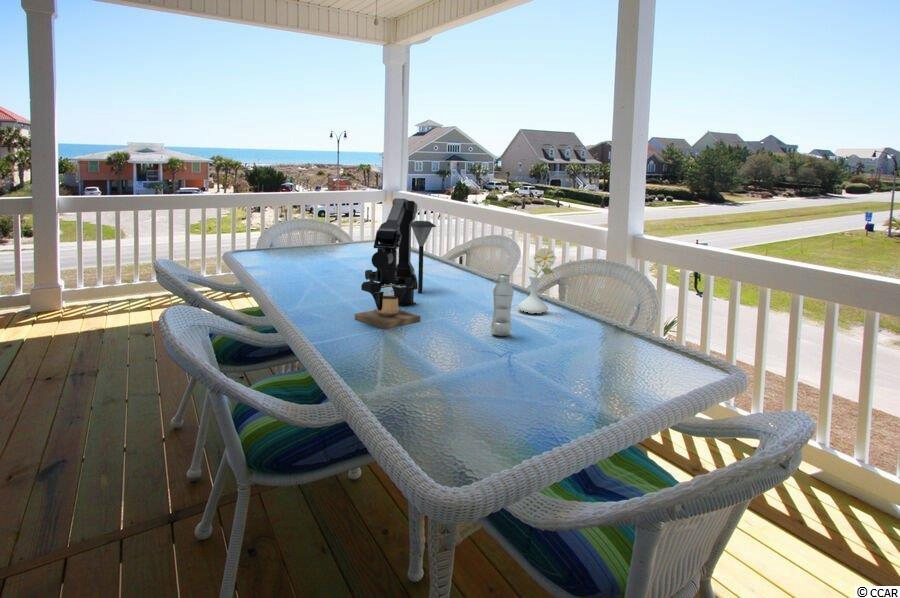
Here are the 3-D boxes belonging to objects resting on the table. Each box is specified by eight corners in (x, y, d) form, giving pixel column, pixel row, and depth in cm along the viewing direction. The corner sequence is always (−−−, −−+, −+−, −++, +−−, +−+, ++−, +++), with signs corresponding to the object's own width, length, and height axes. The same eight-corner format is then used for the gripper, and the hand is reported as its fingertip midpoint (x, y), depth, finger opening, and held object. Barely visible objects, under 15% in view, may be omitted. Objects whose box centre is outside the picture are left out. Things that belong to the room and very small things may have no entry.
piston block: (390, 312, 221) (390, 292, 219) (420, 321, 210) (420, 300, 208) (354, 319, 210) (354, 298, 208) (384, 329, 199) (384, 307, 197)
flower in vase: (513, 313, 225) (517, 247, 220) (522, 307, 236) (526, 243, 230) (548, 318, 221) (553, 250, 215) (555, 311, 231) (560, 246, 225)
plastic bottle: (488, 332, 199) (491, 272, 195) (509, 332, 200) (512, 273, 195) (491, 338, 193) (494, 276, 188) (512, 338, 193) (516, 277, 189)
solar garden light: (402, 294, 250) (403, 222, 243) (409, 289, 262) (410, 219, 255) (431, 297, 248) (433, 223, 241) (437, 290, 260) (439, 220, 253)
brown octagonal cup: (389, 308, 214) (389, 294, 213) (402, 312, 209) (402, 298, 208) (373, 311, 209) (373, 297, 208) (386, 315, 204) (386, 300, 203)
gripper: (394, 258, 217) (393, 300, 221) (351, 263, 204) (351, 308, 208) (414, 262, 210) (413, 306, 213) (371, 268, 197) (371, 314, 200)
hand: (387, 308), depth 209 cm, fingers closed on brown octagonal cup, 7 cm apart
